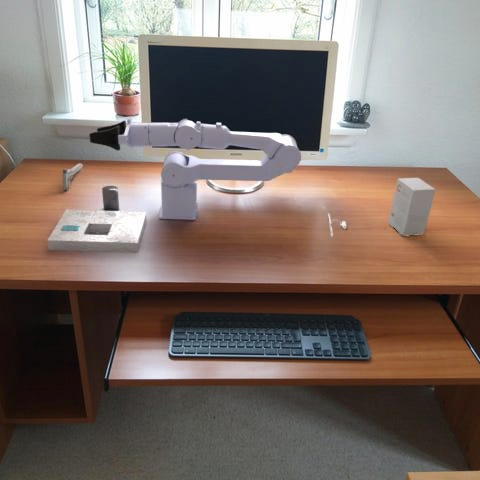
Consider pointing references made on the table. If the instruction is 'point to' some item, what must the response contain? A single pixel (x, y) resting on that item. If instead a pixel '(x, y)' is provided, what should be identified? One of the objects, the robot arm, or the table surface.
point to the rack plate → (98, 231)
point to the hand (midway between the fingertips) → (94, 135)
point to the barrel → (110, 198)
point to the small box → (411, 206)
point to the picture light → (344, 225)
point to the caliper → (69, 175)
